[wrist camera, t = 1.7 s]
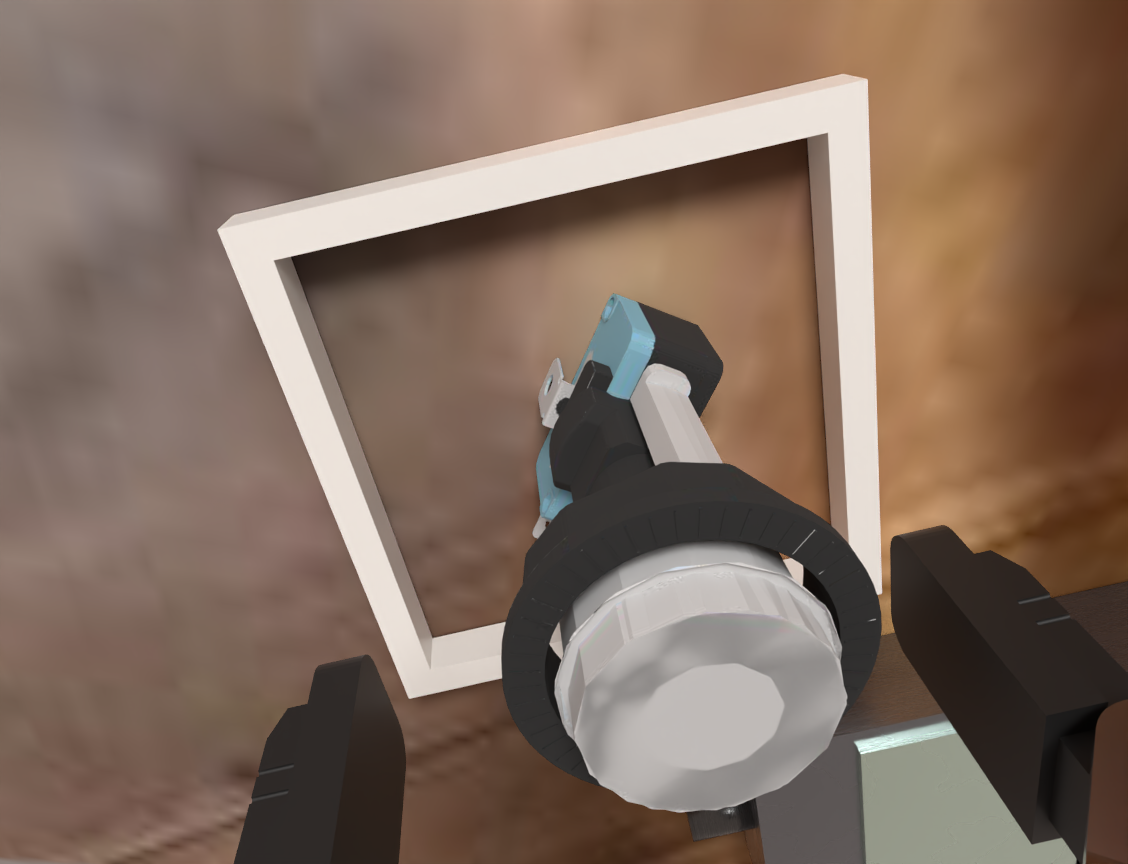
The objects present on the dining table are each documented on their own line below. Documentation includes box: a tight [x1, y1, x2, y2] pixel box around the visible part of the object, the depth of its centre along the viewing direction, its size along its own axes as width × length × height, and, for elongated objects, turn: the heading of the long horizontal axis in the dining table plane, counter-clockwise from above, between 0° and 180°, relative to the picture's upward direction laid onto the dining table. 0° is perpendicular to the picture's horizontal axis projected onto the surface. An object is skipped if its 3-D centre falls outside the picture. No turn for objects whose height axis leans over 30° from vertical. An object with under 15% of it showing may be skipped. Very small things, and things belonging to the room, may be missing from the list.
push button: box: [501, 293, 882, 813], centre depth 15 cm, size 7×5×10 cm
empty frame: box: [218, 74, 882, 699], centre depth 19 cm, size 13×13×1 cm
